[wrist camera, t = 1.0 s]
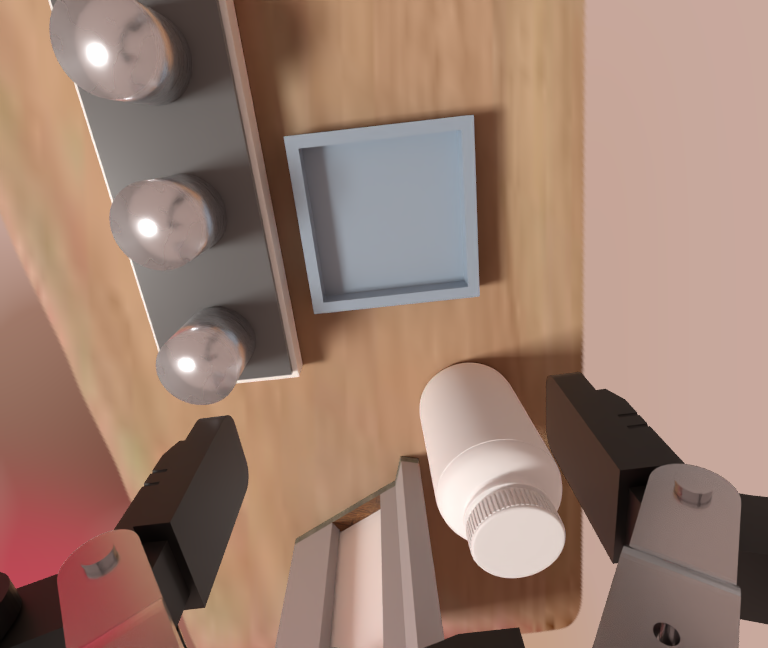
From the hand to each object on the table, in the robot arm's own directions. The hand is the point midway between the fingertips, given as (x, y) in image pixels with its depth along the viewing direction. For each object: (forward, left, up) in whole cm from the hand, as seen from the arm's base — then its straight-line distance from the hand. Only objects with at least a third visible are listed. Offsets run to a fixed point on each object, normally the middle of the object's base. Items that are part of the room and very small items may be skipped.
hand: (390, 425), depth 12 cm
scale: (-4, -12, -24) cm, 27 cm away
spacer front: (-12, -12, -21) cm, 28 cm away
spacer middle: (-3, -12, -21) cm, 25 cm away
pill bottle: (+14, +6, -24) cm, 29 cm away
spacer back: (+6, -12, -21) cm, 25 cm away
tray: (-1, +1, -24) cm, 24 cm away
